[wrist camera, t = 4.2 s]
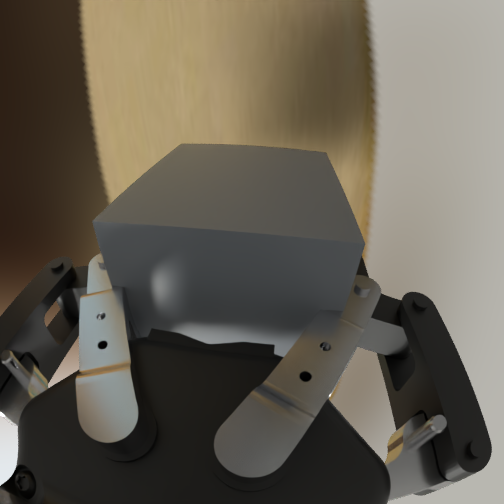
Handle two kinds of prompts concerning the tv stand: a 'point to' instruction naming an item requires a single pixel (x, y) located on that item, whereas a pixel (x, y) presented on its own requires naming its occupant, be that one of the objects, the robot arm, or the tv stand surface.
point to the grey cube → (232, 243)
